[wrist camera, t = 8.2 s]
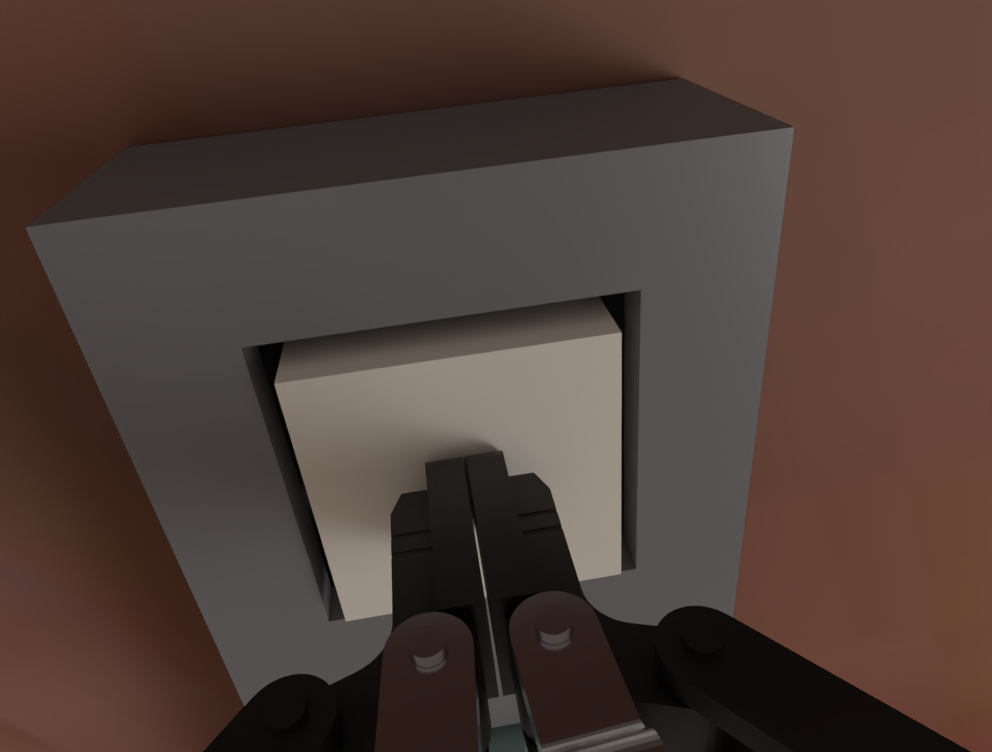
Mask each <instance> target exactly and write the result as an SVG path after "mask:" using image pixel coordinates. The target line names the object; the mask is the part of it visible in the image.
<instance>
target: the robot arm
mask: <svg viewBox="0 0 992 752" xmlns="http://www.w3.org/2000/svg"><path fill="white" fill-rule="evenodd" d="M465 457H466V465H467V472H468V479H469V486H470V493H471V500H472V507H473V513H474V520H475V527H476V534H477V540H478V546H479V552H480V558H481V565H482V571H483V577H484V583H485V589H486V595H487V601H488V607H489V613H490V619H491V625H492V631H493V638H494V644H495V650H496V656H497V662H498V668H499V674H500V680H501V686H502V692H503V696H506V695H511V694H515V695H516V701H517V706H518V712H519V717H520V725H521V733H522V740H523V744H524V748H525V752H970V751H968V750H967V749H965V748H963V747H961V746H959V745H958V744H956V743H954V742H952V741H951V740H949V739H947V738H945V737H944V736H942V735H940V734H938V733H936V732H935V731H933V730H931V729H929V728H928V727H926V726H924V725H922V724H920V723H919V722H917V721H915V720H913V719H912V718H910V717H908V716H906V715H905V714H903V713H901V712H899V711H897V710H896V709H894V708H892V707H890V706H889V705H887V704H885V703H883V702H882V701H880V700H878V699H876V698H874V697H873V696H871V695H869V694H867V693H866V692H864V691H862V690H860V689H859V688H857V687H855V686H853V685H851V684H850V683H848V682H846V681H844V680H843V679H841V678H839V677H837V676H835V675H834V674H832V673H830V672H828V671H827V670H825V669H823V668H821V667H820V666H818V665H816V664H814V663H812V662H811V661H809V660H807V659H805V658H804V657H802V656H800V655H798V654H797V653H795V652H793V651H791V650H789V649H788V648H786V647H784V646H782V645H781V644H779V643H777V642H775V641H773V640H772V639H770V638H768V637H766V636H765V635H763V634H761V633H759V632H758V631H756V630H754V629H752V628H750V627H749V626H747V625H745V624H743V623H742V622H740V621H738V620H736V619H735V618H733V617H731V616H729V615H727V614H726V613H723V612H721V611H719V610H716V609H713V608H710V607H705V606H685V607H681V608H678V609H675V610H673V611H671V612H670V613H668V614H667V615H665V616H664V617H663V618H662V619H661V621H660V622H659V624H658V626H654V625H644V624H635V623H628V622H622V621H619V620H615V619H613V618H610V617H608V616H606V615H604V614H603V613H601V612H599V611H598V610H597V609H596V608H594V607H593V606H592V605H591V604H590V603H589V602H588V600H587V599H586V597H585V596H584V594H583V591H582V589H581V586H580V583H579V579H578V576H577V573H576V570H575V567H574V564H573V560H572V557H571V554H570V551H569V548H568V544H567V541H566V538H565V535H564V532H563V529H562V526H561V522H560V519H559V516H558V513H557V511H556V506H555V503H554V500H553V497H552V493H551V490H550V488H549V487H548V486H547V485H546V484H545V483H544V482H543V481H542V480H541V479H540V478H539V477H538V476H537V475H536V474H535V473H534V472H532V473H526V474H520V475H514V476H509V475H508V471H507V467H506V463H505V459H504V455H503V451H495V452H489V453H483V454H476V455H470V456H465ZM425 470H426V481H427V490H422V491H416V492H410V493H404V494H401V495H400V497H399V499H398V501H397V503H396V505H395V507H394V509H393V511H392V513H391V555H392V558H391V567H392V621H393V622H392V630H391V634H390V636H389V637H388V639H387V641H386V643H385V646H384V648H383V650H382V651H381V652H380V654H379V655H378V656H377V657H376V658H375V659H374V660H373V661H372V662H371V663H369V664H368V665H366V666H365V667H364V668H362V669H360V670H359V671H357V672H355V673H353V674H351V675H349V676H347V677H345V678H343V679H341V680H339V681H337V682H334V683H332V684H330V685H329V684H328V683H327V682H326V681H324V680H323V679H321V678H319V677H317V676H314V675H310V674H294V675H289V676H285V677H282V678H280V679H277V680H275V681H273V682H271V683H270V684H268V685H266V686H265V687H264V688H262V689H261V690H260V691H259V692H258V693H257V694H256V695H254V696H253V697H252V699H251V700H250V701H249V702H248V703H247V704H246V705H245V706H244V707H243V708H242V710H241V711H240V712H239V713H238V714H237V715H236V716H235V717H234V718H233V719H232V721H231V722H230V723H229V724H228V725H227V726H226V727H225V728H224V729H223V730H222V732H221V733H220V734H219V735H218V736H217V737H216V738H215V739H214V740H213V741H212V743H211V744H210V745H209V746H208V747H207V748H206V749H205V750H204V751H203V752H491V746H490V740H491V734H492V726H491V719H490V712H489V705H488V699H491V698H496V697H499V692H498V685H497V678H496V671H495V664H494V657H493V650H492V643H491V637H490V630H489V623H488V616H487V609H486V602H485V596H484V589H483V583H482V577H481V571H480V565H479V558H478V552H477V546H476V540H475V534H474V527H473V521H472V515H471V509H470V503H469V496H468V490H467V484H466V478H465V471H464V465H463V459H462V457H459V458H452V459H446V460H440V461H433V462H427V463H425Z"/></svg>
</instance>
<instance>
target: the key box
mask: <svg viewBox="0 0 992 752" xmlns="http://www.w3.org/2000/svg"><path fill="white" fill-rule="evenodd" d="M793 133H794V127H793V126H791V125H789V124H786V123H784V122H782V121H779V120H777V119H775V118H773V117H770V116H768V115H766V114H763V113H761V112H759V111H757V110H754V109H752V108H750V107H747V106H745V105H743V104H741V103H738V102H736V101H734V100H732V99H729V98H727V97H725V96H722V95H720V94H718V93H716V92H713V91H711V90H709V89H706V88H704V87H702V86H700V85H697V84H695V83H693V82H690V81H688V80H686V79H684V78H680V79H672V80H664V81H656V82H648V83H640V84H632V85H624V86H616V87H608V88H599V89H591V90H583V91H575V92H567V93H559V94H551V95H543V96H535V97H527V98H519V99H511V100H503V101H495V102H486V103H478V104H470V105H462V106H454V107H446V108H438V109H430V110H422V111H414V112H406V113H398V114H390V115H381V116H373V117H365V118H357V119H349V120H341V121H333V122H325V123H317V124H309V125H301V126H293V127H285V128H277V129H268V130H260V131H252V132H244V133H236V134H228V135H220V136H212V137H204V138H196V139H188V140H180V141H172V142H163V143H155V144H147V145H139V146H131V147H126V148H125V149H123V150H122V151H121V152H120V153H118V154H117V155H116V156H114V157H113V158H112V159H111V160H109V161H108V162H107V163H106V164H104V165H103V166H102V167H101V168H99V169H98V170H97V171H95V172H94V173H93V174H92V175H90V176H89V177H88V178H87V179H85V180H84V181H83V182H82V183H80V184H79V185H78V186H77V187H75V188H74V189H73V190H71V191H70V192H69V193H68V194H66V195H65V196H64V197H63V198H61V199H60V200H59V201H58V202H56V203H55V204H54V205H52V206H51V207H50V208H49V209H47V210H46V211H45V212H44V213H42V214H41V215H40V216H39V217H37V218H36V219H35V220H33V221H32V222H31V223H30V224H28V225H27V226H26V227H25V228H26V230H27V233H28V235H29V237H30V239H31V241H32V243H33V246H34V248H35V250H36V252H37V254H38V257H39V259H40V261H41V263H42V265H43V268H44V270H45V272H46V274H47V276H48V278H49V281H50V283H51V285H52V287H53V289H54V292H55V294H56V296H57V298H58V300H59V303H60V305H61V307H62V309H63V311H64V313H65V316H66V318H67V320H68V322H69V324H70V327H71V329H72V331H73V333H74V335H75V337H76V340H77V342H78V344H79V346H80V348H81V351H82V353H83V355H84V357H85V359H86V362H87V364H88V366H89V368H90V370H91V372H92V375H93V377H94V379H95V381H96V383H97V386H98V388H99V390H100V392H101V394H102V397H103V399H104V401H105V403H106V405H107V407H108V410H109V412H110V414H111V416H112V418H113V421H114V423H115V425H116V427H117V429H118V432H119V434H120V436H121V438H122V440H123V442H124V445H125V447H126V449H127V451H128V453H129V456H130V458H131V460H132V462H133V464H134V467H135V469H136V471H137V473H138V475H139V477H140V480H141V482H142V484H143V486H144V488H145V491H146V493H147V495H148V497H149V499H150V502H151V504H152V506H153V508H154V510H155V512H156V515H157V517H158V519H159V521H160V523H161V526H162V528H163V530H164V532H165V534H166V537H167V539H168V541H169V543H170V545H171V547H172V550H173V552H174V554H175V556H176V558H177V561H178V563H179V565H180V567H181V569H182V572H183V574H184V576H185V578H186V580H187V582H188V585H189V587H190V589H191V591H192V593H193V596H194V598H195V600H196V602H197V604H198V606H199V609H200V611H201V613H202V615H203V617H204V620H205V622H206V624H207V626H208V628H209V631H210V633H211V635H212V637H213V639H214V641H215V644H216V646H217V648H218V650H219V652H220V655H221V657H222V659H223V661H224V663H225V666H226V668H227V670H228V672H229V674H230V676H231V679H232V681H233V683H234V685H235V687H236V690H237V692H238V694H239V696H240V698H241V701H242V703H243V705H244V706H245V705H246V704H247V703H248V702H249V701H250V700H251V699H252V697H253V696H254V695H256V694H257V693H258V692H259V691H260V690H261V689H262V688H264V687H265V686H266V685H268V684H270V683H271V682H273V681H275V680H277V679H280V678H282V677H285V676H289V675H294V674H310V675H314V676H317V677H319V678H321V679H323V680H324V681H326V682H327V683H328V684H329V685H330V684H332V683H334V682H337V681H339V680H341V679H343V678H345V677H347V676H349V675H351V674H353V673H355V672H357V671H359V670H360V669H362V668H364V667H365V666H366V665H368V664H369V663H371V662H372V661H373V660H374V659H375V658H376V657H377V656H378V655H379V654H380V652H381V651H382V650H383V648H384V646H385V643H386V641H387V639H388V637H389V636H390V634H391V630H392V622H393V621H392V614H387V615H381V616H375V617H369V618H363V619H358V620H352V621H346V620H345V617H344V614H343V610H342V607H341V604H340V600H339V597H338V594H337V590H336V587H335V584H334V580H333V577H332V574H331V571H330V567H329V564H328V561H327V557H326V554H325V551H324V547H323V544H322V541H321V537H320V534H319V531H318V528H317V524H316V521H315V518H314V514H313V511H312V508H311V504H310V501H309V498H308V494H307V491H306V488H305V484H304V481H303V478H302V475H301V471H300V468H299V465H298V461H297V458H296V455H295V451H294V448H293V445H292V441H291V438H290V435H289V432H288V428H287V425H286V422H285V418H284V415H283V412H282V408H281V405H280V402H279V398H278V395H277V392H276V389H275V385H274V382H275V378H276V374H277V370H278V366H279V362H280V358H281V354H282V350H283V345H284V342H285V341H292V340H299V339H306V338H312V337H319V336H326V335H333V334H340V333H347V332H354V331H361V330H368V329H375V328H382V327H389V326H396V325H402V324H409V323H416V322H423V321H430V320H437V319H444V318H451V317H458V316H465V315H472V314H479V313H486V312H492V311H499V310H506V309H513V308H520V307H527V306H534V305H541V304H548V303H555V302H562V301H569V300H575V299H582V298H589V297H596V296H599V297H600V298H601V300H602V302H603V303H604V305H605V306H606V308H607V310H608V311H609V313H610V314H611V316H612V318H613V319H614V321H615V322H616V324H617V326H618V327H619V329H620V330H621V332H622V423H621V574H618V575H613V576H607V577H601V578H595V579H589V580H584V581H579V583H580V586H581V589H582V591H583V594H584V596H585V597H586V599H587V600H588V602H589V603H590V604H591V605H592V606H593V607H594V608H596V609H597V610H598V611H599V612H601V613H603V614H604V615H606V616H608V617H610V618H613V619H615V620H619V621H622V622H628V623H635V624H644V625H654V626H658V624H659V622H660V621H661V619H662V618H663V617H664V616H665V615H667V614H668V613H670V612H671V611H673V610H675V609H678V608H681V607H685V606H705V607H710V608H713V609H716V610H719V611H721V612H723V613H726V614H727V615H729V616H731V617H733V614H734V606H735V598H736V590H737V582H738V574H739V566H740V558H741V550H742V542H743V534H744V526H745V518H746V510H747V502H748V494H749V486H750V478H751V470H752V462H753V454H754V446H755V438H756V430H757V422H758V414H759V406H760V398H761V390H762V382H763V374H764V366H765V358H766V350H767V342H768V334H769V326H770V318H771V310H772V302H773V294H774V286H775V278H776V270H777V262H778V254H779V246H780V238H781V230H782V221H783V213H784V205H785V197H786V189H787V181H788V173H789V165H790V157H791V149H792V141H793ZM485 602H486V609H487V616H488V623H489V630H490V637H491V643H492V650H493V657H494V664H495V671H496V678H497V685H498V692H499V697H496V698H491V699H488V705H489V712H490V719H491V726H492V728H495V727H500V726H505V725H511V724H516V723H520V717H519V712H518V706H517V701H516V695H515V694H511V695H506V696H503V692H502V686H501V680H500V674H499V668H498V662H497V656H496V650H495V644H494V638H493V631H492V625H491V619H490V613H489V607H488V601H487V597H485Z"/></svg>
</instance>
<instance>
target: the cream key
mask: <svg viewBox="0 0 992 752" xmlns="http://www.w3.org/2000/svg"><path fill="white" fill-rule="evenodd" d="M274 385H275V389H276V392H277V395H278V398H279V402H280V405H281V408H282V412H283V415H284V418H285V422H286V425H287V428H288V432H289V435H290V438H291V441H292V445H293V448H294V451H295V455H296V458H297V461H298V465H299V468H300V471H301V475H302V478H303V481H304V484H305V488H306V491H307V494H308V498H309V501H310V504H311V508H312V511H313V514H314V518H315V521H316V524H317V528H318V531H319V534H320V537H321V541H322V544H323V547H324V551H325V554H326V557H327V561H328V564H329V567H330V571H331V574H332V577H333V580H334V584H335V587H336V590H337V594H338V597H339V600H340V604H341V607H342V610H343V614H344V617H345V620H346V621H352V620H358V619H363V618H369V617H375V616H381V615H387V614H392V567H391V558H392V555H391V513H392V511H393V509H394V507H395V505H396V503H397V501H398V499H399V497H400V495H401V494H404V493H410V492H416V491H422V490H427V481H426V470H425V463H427V462H433V461H440V460H446V459H452V458H459V457H462V459H463V465H464V471H465V478H466V484H467V490H468V496H469V503H470V509H471V515H472V521H473V527H474V534H475V540H476V546H477V552H478V558H479V565H480V571H481V577H482V583H483V589H484V596H485V597H487V595H486V589H485V583H484V577H483V571H482V565H481V558H480V552H479V546H478V540H477V534H476V527H475V520H474V513H473V507H472V500H471V493H470V486H469V479H468V472H467V465H466V457H465V456H470V455H476V454H483V453H489V452H495V451H503V455H504V459H505V463H506V467H507V471H508V475H509V476H514V475H520V474H526V473H532V472H534V473H535V474H536V475H537V476H538V477H539V478H540V479H541V480H542V481H543V482H544V483H545V484H546V485H547V486H548V487H549V488H550V490H551V493H552V497H553V500H554V503H555V506H556V511H557V513H558V516H559V519H560V522H561V526H562V529H563V532H564V535H565V538H566V541H567V544H568V548H569V551H570V554H571V557H572V560H573V564H574V567H575V570H576V573H577V576H578V579H579V581H584V580H589V579H595V578H601V577H607V576H613V575H618V574H621V423H622V332H621V330H620V329H619V327H618V326H617V324H616V322H615V321H614V319H613V318H612V316H611V314H610V313H609V311H608V310H607V308H606V306H605V305H604V303H603V302H602V300H601V298H600V297H599V296H596V297H589V298H582V299H575V300H569V301H562V302H555V303H548V304H541V305H534V306H527V307H520V308H513V309H506V310H499V311H492V312H486V313H479V314H472V315H465V316H458V317H451V318H444V319H437V320H430V321H423V322H416V323H409V324H402V325H396V326H389V327H382V328H375V329H368V330H361V331H354V332H347V333H340V334H333V335H326V336H319V337H312V338H306V339H299V340H292V341H285V342H284V345H283V350H282V354H281V358H280V362H279V366H278V370H277V374H276V378H275V382H274Z"/></svg>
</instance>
